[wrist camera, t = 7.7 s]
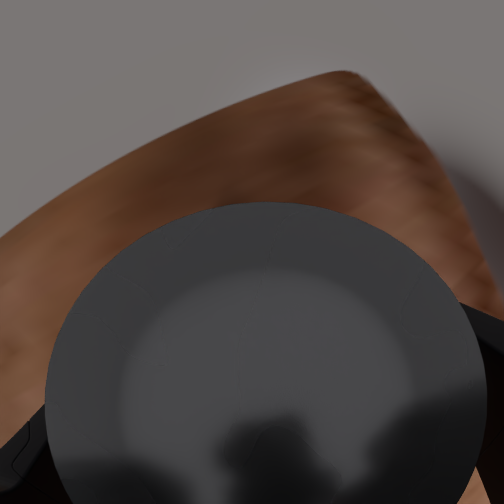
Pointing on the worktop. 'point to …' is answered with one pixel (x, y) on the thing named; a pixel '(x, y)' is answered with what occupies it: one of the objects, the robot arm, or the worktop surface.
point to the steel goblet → (266, 368)
